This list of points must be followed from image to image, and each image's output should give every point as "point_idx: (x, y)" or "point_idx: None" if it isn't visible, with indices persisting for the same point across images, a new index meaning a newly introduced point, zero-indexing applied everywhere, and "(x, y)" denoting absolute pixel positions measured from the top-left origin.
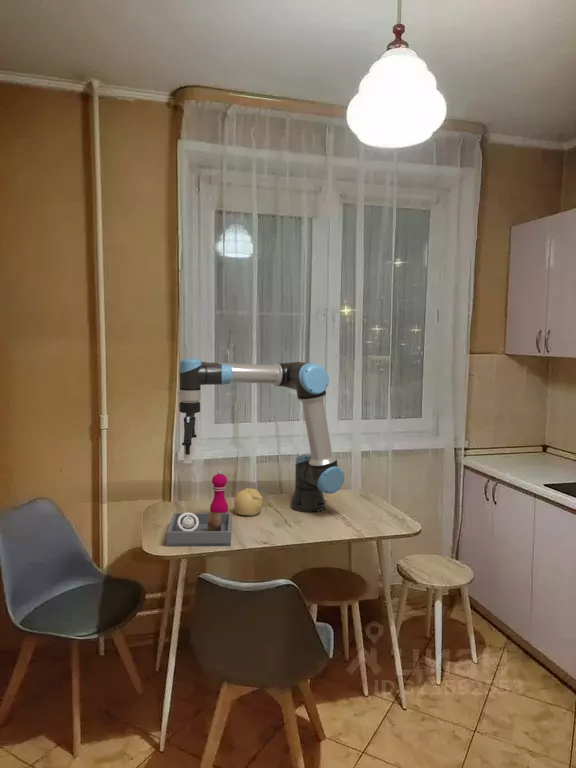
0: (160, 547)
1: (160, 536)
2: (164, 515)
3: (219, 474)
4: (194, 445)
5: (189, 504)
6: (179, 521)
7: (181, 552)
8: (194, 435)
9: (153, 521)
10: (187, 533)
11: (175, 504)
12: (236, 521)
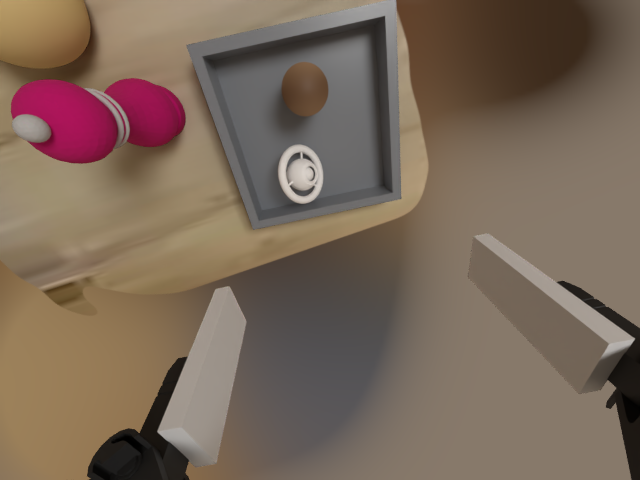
0: None
1: (332, 219)
2: (196, 256)
3: (49, 126)
4: (208, 348)
5: (80, 230)
6: (312, 196)
7: (424, 144)
8: (134, 472)
9: (244, 262)
10: (398, 148)
11: (103, 261)
12: (155, 41)
